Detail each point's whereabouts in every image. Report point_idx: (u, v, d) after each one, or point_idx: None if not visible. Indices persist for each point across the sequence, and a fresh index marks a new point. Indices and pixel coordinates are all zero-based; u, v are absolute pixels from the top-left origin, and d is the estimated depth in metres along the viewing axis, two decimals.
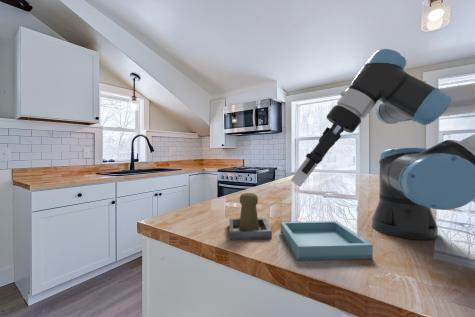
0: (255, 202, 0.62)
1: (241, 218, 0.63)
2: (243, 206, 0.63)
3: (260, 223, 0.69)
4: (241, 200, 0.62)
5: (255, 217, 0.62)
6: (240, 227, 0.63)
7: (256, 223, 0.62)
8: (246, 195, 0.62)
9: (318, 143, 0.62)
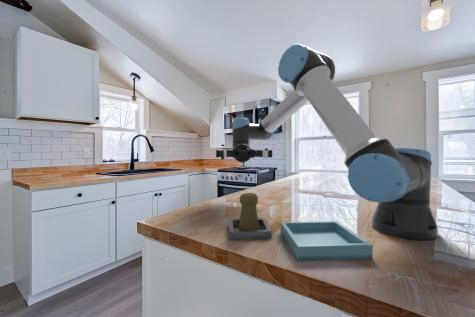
0: (255, 202, 0.62)
1: (241, 218, 0.63)
2: (243, 206, 0.63)
3: (260, 223, 0.69)
4: (241, 200, 0.62)
5: (255, 217, 0.62)
6: (240, 227, 0.63)
7: (256, 223, 0.62)
8: (246, 195, 0.62)
9: (253, 156, 0.84)
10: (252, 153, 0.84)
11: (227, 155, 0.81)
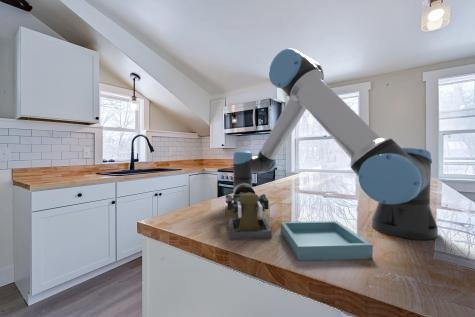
0: (255, 202, 0.62)
1: (241, 218, 0.63)
2: (243, 206, 0.63)
3: (260, 223, 0.69)
4: (241, 200, 0.62)
5: (255, 217, 0.62)
6: (240, 227, 0.63)
7: (256, 223, 0.62)
8: (246, 195, 0.62)
9: None
10: None
11: None
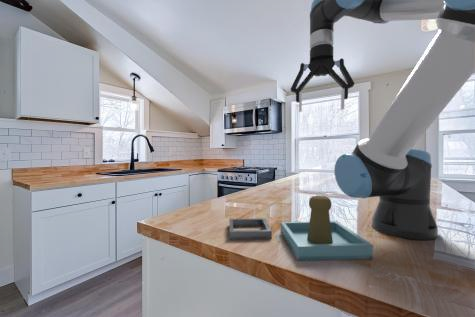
0: (330, 206, 0.54)
1: (312, 225, 0.54)
2: (315, 211, 0.54)
3: (260, 223, 0.69)
4: (313, 204, 0.54)
5: (329, 224, 0.54)
6: (311, 235, 0.54)
7: (330, 231, 0.54)
8: (319, 198, 0.54)
9: (332, 77, 0.77)
10: (331, 75, 0.76)
11: (302, 88, 0.80)
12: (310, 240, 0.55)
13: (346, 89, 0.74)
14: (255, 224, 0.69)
